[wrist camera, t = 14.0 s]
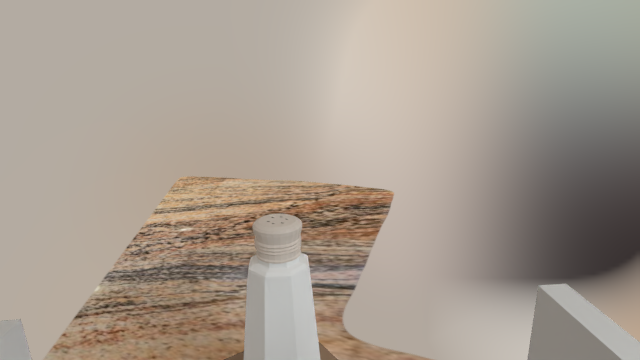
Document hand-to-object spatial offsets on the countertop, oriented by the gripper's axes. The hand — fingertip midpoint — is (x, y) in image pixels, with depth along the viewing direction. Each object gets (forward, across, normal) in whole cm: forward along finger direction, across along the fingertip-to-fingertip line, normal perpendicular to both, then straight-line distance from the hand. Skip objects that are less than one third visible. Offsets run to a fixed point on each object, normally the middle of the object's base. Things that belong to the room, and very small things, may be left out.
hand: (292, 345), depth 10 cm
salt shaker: (+12, -1, -13) cm, 18 cm away
